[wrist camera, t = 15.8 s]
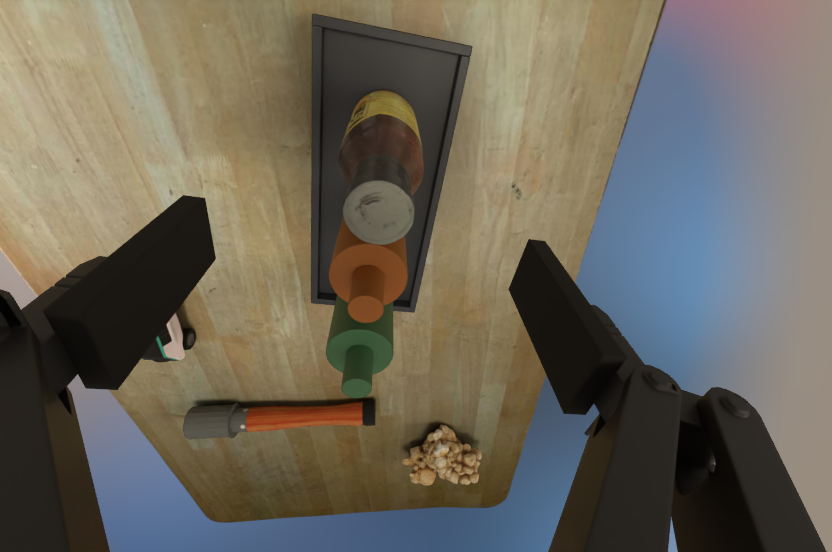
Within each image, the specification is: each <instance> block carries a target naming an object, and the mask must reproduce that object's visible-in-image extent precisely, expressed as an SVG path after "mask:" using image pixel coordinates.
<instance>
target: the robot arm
mask: <svg viewBox="0 0 832 552" xmlns="http://www.w3.org/2000/svg"><path fill="white" fill-rule="evenodd" d="M215 259H216V257H215V251H214V246H213V240H212V235H211V229H210V223H209V218H208V212H207V207H206V201H205V198H200V197H192V196H185V195H183V196H182V197H181V198H179V199H178V200H177V201H176V202H175V203H173V204H172V205H171V206H170V207H168V208H167V209H166V210H165V211H164V212H162V213H161V214H160V215H159V216H157V217H156V218H155V219H154V220H153V221H151V222H150V223H149V224H148V225H146V226H145V227H144V228H143V229H142V230H140V231H139V232H138V233H137V234H135V235H134V236H133V237H132V238H131V239H129V240H128V241H127V242H126V243H125V244H123V245H122V246H121V247H120V248H118V249H117V250H116V251H115V252H114V253H112V254H111V255H110V256H109V257H103V256H99V257H96V258H94V259H92V260H89V261H87V262H85V263H82V264H80V265H79V266H77V267H76V268H75V269H74V270H72V271H71V272H70V273H68V274H67V275H66V278H64V277H63V278H62V279H61V280H59V281H58V282H57V283H55V286H54V287H53V286H52V287H50V288H49V289H48V290H46V291H45V292H44V293H42V294H41V295H40V296H39V297H37V298H36V299H35V300H33V301H32V302H31V303H29V304H28V305H27V306H26V307H24V308H23V309H22V310H21V309H20V308H19V306H18V304H17V303H16V301H15V300H14V298H13V297H12V295H11V294H10V293H9V292H7V291H4V290H0V552H110V550H109V546H108V542H107V538H106V534H105V530H104V525H103V522H102V517H101V513H100V509H99V505H98V501H97V497H96V493H95V489H94V484H93V480H92V476H91V472H90V468H89V464H88V460H87V455H86V451H85V447H84V443H83V439H82V435H81V431H80V426H79V422H78V418H77V414H76V410H75V406H74V402H73V398H72V394H71V392H70V390H69V389H68V387H67V385H68V384H69V383H70V382H71V381H72V380H73V379H74V378H75V376H76V375H77V374H78V375H79V377H80V378H81V380H82V382H83V384H84V386H85V387H86V388H91V389H110V390H118V388H119V387H120V386H121V384H122V383H123V382H124V380H125V379H126V378H127V376H128V375H129V374H130V372H131V371H132V370H133V368H134V367H135V366H136V364H137V363H138V362H139V360H140V359H141V358H142V356H143V355H144V354H145V352H146V351H147V350H148V348H149V347H150V346H151V344H152V343H153V342H154V340H155V339H156V338H157V336H158V335H159V334H160V332H161V331H162V330H163V328H164V327H165V326H166V324H167V323H168V322H169V320H170V319H171V318H172V316H173V315H174V314H175V312H176V311H177V310H178V308H179V307H180V306H181V304H182V303H183V302H184V300H185V299H186V298H187V296H188V295H189V294H190V292H191V291H192V290H193V288H194V287H195V286H196V284H197V283H198V282H199V280H200V279H201V278H202V276H203V275H204V274H205V272H206V271H207V270H208V268H209V267H210V266H211V265H212V263H213V262H214V261H215ZM509 291H510V294H511V296H512V298H513V300H514V303H515V305H516V307H517V309H518V312H519V314H520V316H521V318H522V321H523V323H524V325H525V327H526V330H527V332H528V334H529V336H530V339H531V341H532V343H533V345H534V348H535V350H536V352H537V354H538V357H539V359H540V361H541V363H542V366H543V368H544V370H545V372H546V375H547V377H548V379H549V381H550V383H551V386H552V388H553V390H554V392H555V395H556V397H557V399H558V402H559V404H560V406H561V408H562V410H563V413H564V414H582V415H585V414H586V413H587V412H588V411H589V409H590V408H591V406H592V405H593V404H595V405H596V407H597V409H598V411H599V413H600V414H599V415H598V417H597V418H596V419H595V420H594V422H593V423H592V424H591V425H590V427H589V428H588V429H587V431H586V432H585V434H586V435H589V434H590V435H589V438H588V440H587V443H586V446H585V449H584V452H583V455H582V457H581V461H580V463H579V466H578V469H577V472H576V475H575V478H574V480H573V483H572V486H571V489H570V492H569V495H568V497H567V500H566V503H565V506H564V509H563V512H562V515H561V517H560V520H559V523H558V526H557V529H556V532H555V534H554V537H553V540H552V543H551V546H550V549H549V552H668V544H669V533H670V522H671V517H672V522H673V528H674V533H675V538H676V544H677V549H678V552H826V550H825V548H824V546H823V543H822V542H821V540H820V537H819V535H818V533H817V531H816V529H815V527H814V525H813V523H812V521H811V519H810V517H809V515H808V513H807V511H806V509H805V507H804V505H803V503H802V500H801V498H800V496H799V494H798V492H797V490H796V488H795V486H794V484H793V482H792V480H791V478H790V476H789V474H788V472H787V470H786V468H785V466H784V464H783V461H782V460H781V458H780V455H779V453H778V451H777V450H776V447H775V445H774V443H773V441H772V439H771V437H770V435H769V433H768V431H767V429H766V427H765V425H764V423H763V421H762V418H761V417H760V415H759V414H758V412H757V411H756V409H755V408H754V407H752V406H751V405H750V404H749V403H748V401H746V400H745V399H744V398H742V397H741V396H739V395H737V394H736V393H733V392H731V391H729V390H727V389H723V388H719V387H716V388H711V389H710V390H709V391H708V392H707V393H706V394H705V395H704V396H703V397H702V396H699V395H696V394H693V393H690V392H687V391H684V390H681V388H680V387H679V386H678V384H677V383H676V381H674V380H673V379H672V378H671V377H670V376H669V375H668V374H666V373H665V372H663V371H661V370H660V369H658V368H655V367H653V366H650V365H645V364H644V363H643V362H642V360H641V359H640V358H639V356H638V355H637V354H636V353H635V351H634V350H633V348H632V347H631V346H630V344H629V343H628V342H627V340H626V339H625V338H624V336H622V334H621V332H620V331H619V329H618V328H616V327H615V324H614V323H613V321H612V320H611V319H610V317H609V316H608V315H607V314H606V313H604V312H603V311H602V310H601V309H600V308H598V307H597V306H595V305H590V304H589V302H588V301H587V300H586V298H585V297H584V295H583V294H582V293H581V291H580V290H579V288H578V287H577V285H576V284H575V283H574V281H573V280H572V278H571V277H570V276H569V274H568V273H567V271H566V270H565V269H564V267H563V266H562V264H561V263H560V262H559V260H558V259H557V257H556V256H555V255H554V253H553V252H552V250H551V249H550V248H549V246H548V245H547V243H546V242H545V241H538V240H531V239H529V240H528V242H527V245H526V247H525V250H524V252H523V255H522V257H521V260H520V262H519V265H518V267H517V270H516V272H515V275H514V277H513V280H512V282H511V285H510V287H509ZM714 463H715V465H714Z"/></svg>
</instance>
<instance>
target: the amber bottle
mask: <svg viewBox="0 0 832 552" xmlns="http://www.w3.org/2000/svg"><path fill="white" fill-rule="evenodd" d="M407 279H408V273H407V258H406V243H405V235H404V236H403V237H402V238H401V239H398V240H397V241H395V242H393V243H389V244H384V245H377V244H371V243H367V242H364V241H363V240H361V239H359V238H358V237H356V236H355V235H354V234H353V233H352V232H350V230H349V228H348V227H347V225H346V223H345V221H344V218H342V222H341V226H340V229H339V233H338V237H337V241H336V245H335V249H334V253H333V257H332V260H331V264H330V268H329V280H330V283H331V286H332V288H333V290H334V291H335V292H336V294H337V295H338V296H339V297H340V298H342V299H343V300H344V301H346V302H348V313H349V315H350V316H351V317H352V318H353V319H354V320H356V321H358V322H362V323H371V322H374V321H376V320H378V319H379V318H380V317H381V316H382V314H383V311H384V305H387V304H389V303H391V302H393V301H394V300H396V299H397V298H398V297H399V296H400V295H401V294H402V292H403V291H404V289H405V287H406V284H407Z"/></svg>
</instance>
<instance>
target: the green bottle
mask: <svg viewBox="0 0 832 552" xmlns="http://www.w3.org/2000/svg"><path fill="white" fill-rule="evenodd" d="M326 356H327V359H328V361H329V362H330V364H331V365H332V366H333V367H334V368H336V369H337V370H339V371H341V372H343V379H342V386H341V389H342V392H343V393H344V394H345V395H346V396H348V397H352V398H362V397H365V396H367V395H368V394H369V393H370V392H371V390H372V374H375V373H378V372H380V371H382V370H383V369H385V368H386V367H387V366H388V365H389V364H390V362H391V360H392V358H393V302H391V303H389V304H387V305H384V311H383V314H382V316H381V317H380V318H379V319H378V320H376V321H374V322H371V323H362V322H358V321H356V320H354V319H353V318H352V317H351V316H350V315H349V313H348V302H346V301H344V300H343V299H342V298H340V297H339V296H338V295H337V298H336V303H335V308H334V313H333V317H332V322H331V327H330V332H329V337H328V342H327V347H326Z"/></svg>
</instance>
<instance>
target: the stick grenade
mask: <svg viewBox="0 0 832 552" xmlns="http://www.w3.org/2000/svg"><path fill="white" fill-rule="evenodd" d="M336 424H338V425H366V426H371V425H375V400H368V401H363V402H353V403H347V404H340V405H328V406H308V407H290V406H269V407H251V408H240V405H239V404H238V403H235V404H233V405H215V406H196V407H192V408H191V409H190V410H189V411H188V412H187V414H186V416H185V419H184V424H183V432H184V436H185V437H186V438H187V439H204V438H221V437H230V438H234V437H235V436H236V435H237V433H238V432H254V431H271V430H280V429H287V428H294V427H303V426H319V425H336Z"/></svg>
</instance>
